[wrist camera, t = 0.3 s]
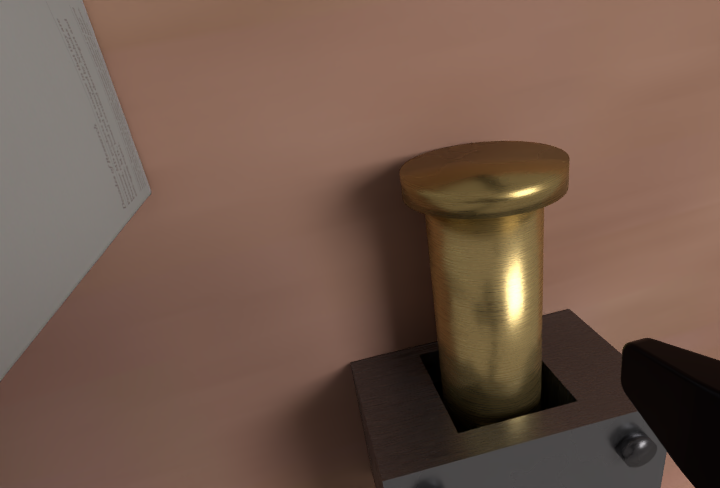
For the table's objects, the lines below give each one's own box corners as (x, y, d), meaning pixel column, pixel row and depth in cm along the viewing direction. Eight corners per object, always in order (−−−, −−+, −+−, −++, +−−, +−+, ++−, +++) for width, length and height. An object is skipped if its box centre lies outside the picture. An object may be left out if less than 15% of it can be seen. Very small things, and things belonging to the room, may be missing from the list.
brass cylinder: (519, 410, 27) (584, 502, 21) (419, 436, 26) (460, 539, 21) (516, 133, 20) (609, 165, 15) (383, 159, 20) (428, 203, 14)
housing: (564, 420, 28) (661, 541, 21) (372, 472, 27) (409, 619, 20) (569, 309, 25) (685, 409, 18) (350, 362, 24) (385, 493, 17)
